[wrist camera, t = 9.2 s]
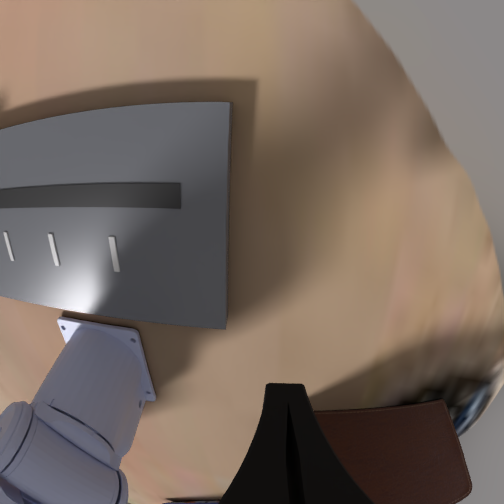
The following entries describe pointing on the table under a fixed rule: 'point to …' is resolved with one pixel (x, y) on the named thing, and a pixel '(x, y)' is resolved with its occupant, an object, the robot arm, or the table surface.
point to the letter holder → (400, 452)
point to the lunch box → (195, 502)
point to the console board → (120, 212)
